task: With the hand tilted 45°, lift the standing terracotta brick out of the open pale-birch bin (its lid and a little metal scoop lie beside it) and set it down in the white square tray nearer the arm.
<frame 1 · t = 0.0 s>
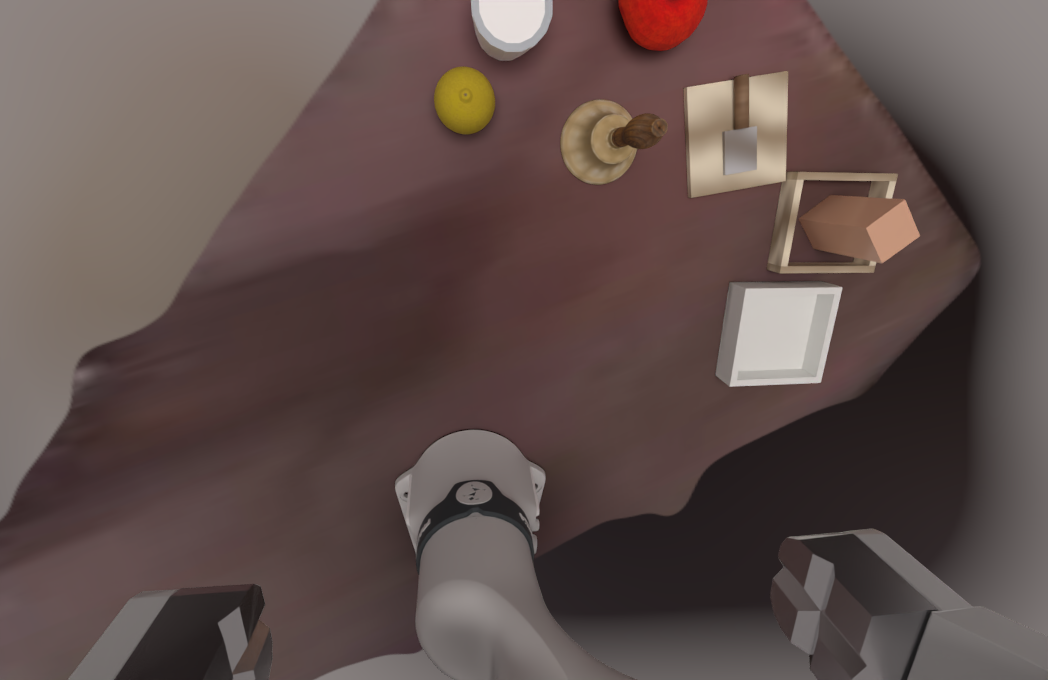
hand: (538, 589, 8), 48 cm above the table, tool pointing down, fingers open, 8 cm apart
lemon: (463, 107, 49), on the table
white round tub: (504, 28, 47), on the table
hand bell: (598, 143, 52), on the table
terracotta brick: (821, 222, 58), resting in birch bin
white square tray: (767, 329, 61), on the table
apple: (645, 13, 48), on the table
lid with scoop: (734, 136, 53), on the table
birch bin: (822, 222, 58), on the table
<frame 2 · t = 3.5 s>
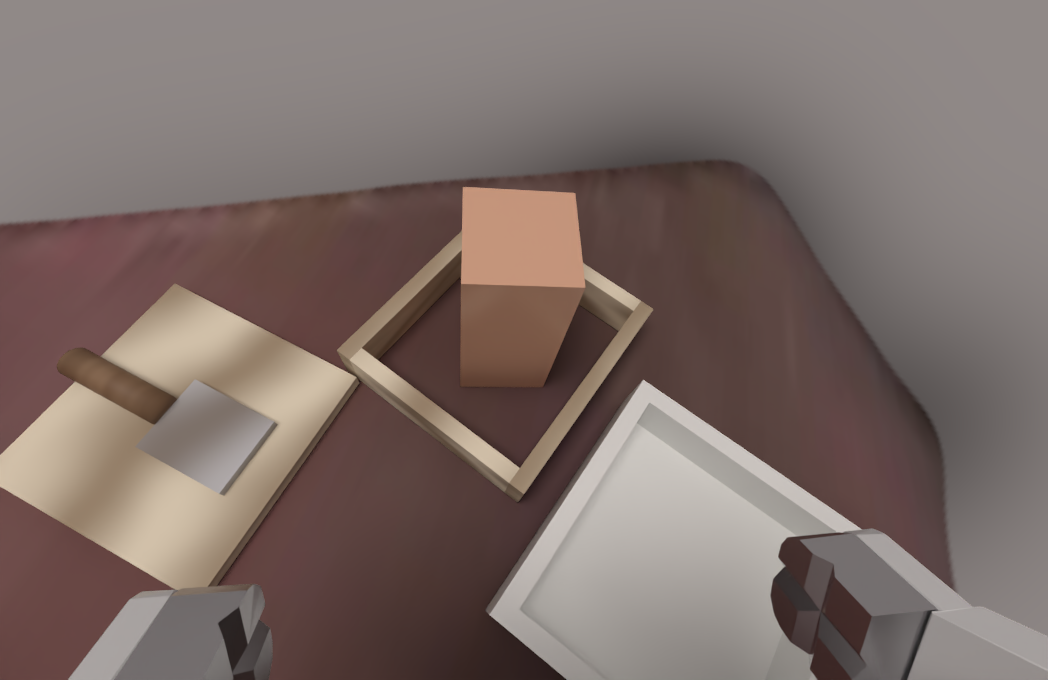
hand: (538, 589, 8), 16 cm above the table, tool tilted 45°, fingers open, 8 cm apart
terracotta brick: (501, 349, 27), resting in birch bin
white square tray: (665, 575, 23), on the table
lid with scoop: (192, 426, 23), on the table
birch bin: (501, 349, 27), on the table
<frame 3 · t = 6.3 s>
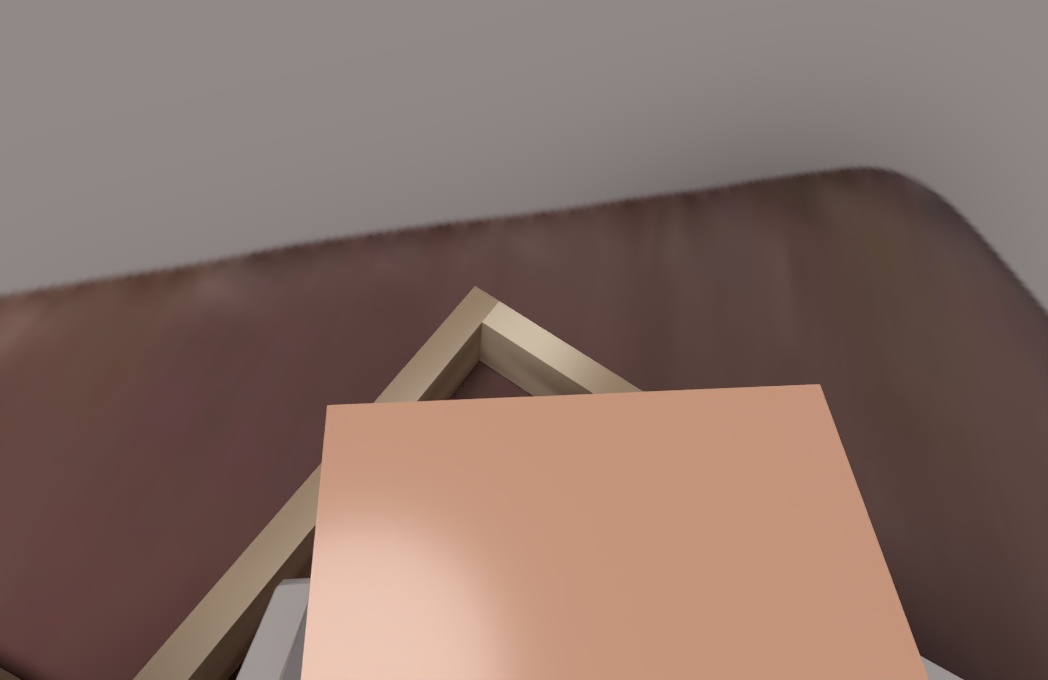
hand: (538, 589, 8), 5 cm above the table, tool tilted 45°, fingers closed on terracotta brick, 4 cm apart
terracotta brick: (511, 617, 12), resting in birch bin, touching gripper
birch bin: (511, 617, 12), on the table
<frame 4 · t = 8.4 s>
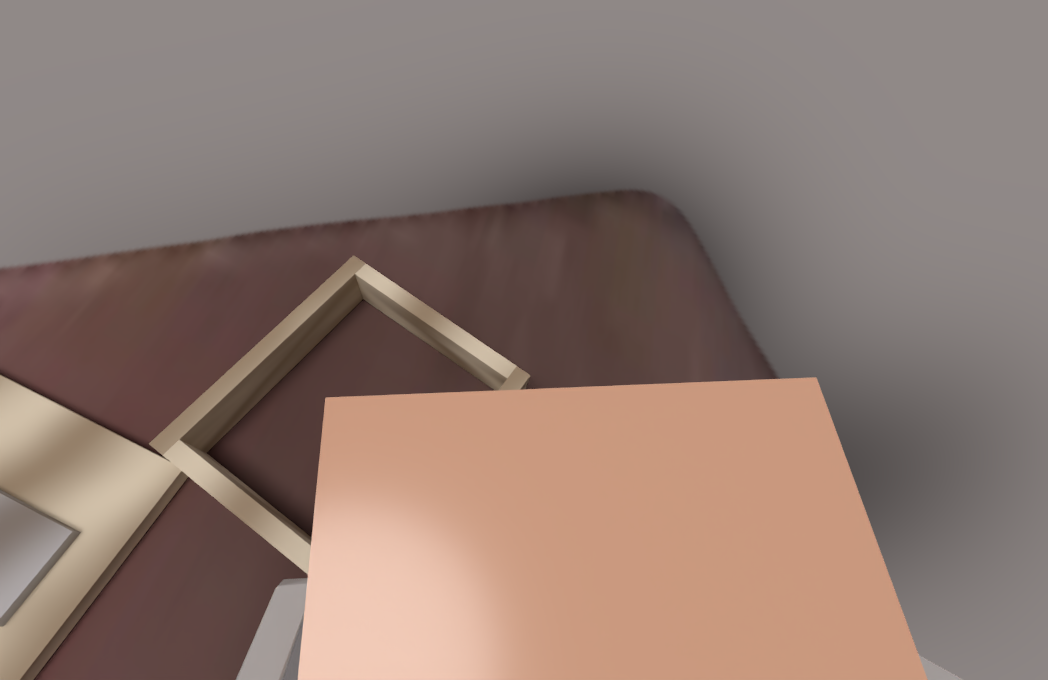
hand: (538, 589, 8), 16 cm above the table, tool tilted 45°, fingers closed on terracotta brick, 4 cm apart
terracotta brick: (511, 614, 12), point 10 cm above the table, touching gripper
birch bin: (363, 422, 24), on the table
when the fingers open (7 cm above the table, at t = 10.8 s): terracotta brick drops 1 cm, resting on white square tray.
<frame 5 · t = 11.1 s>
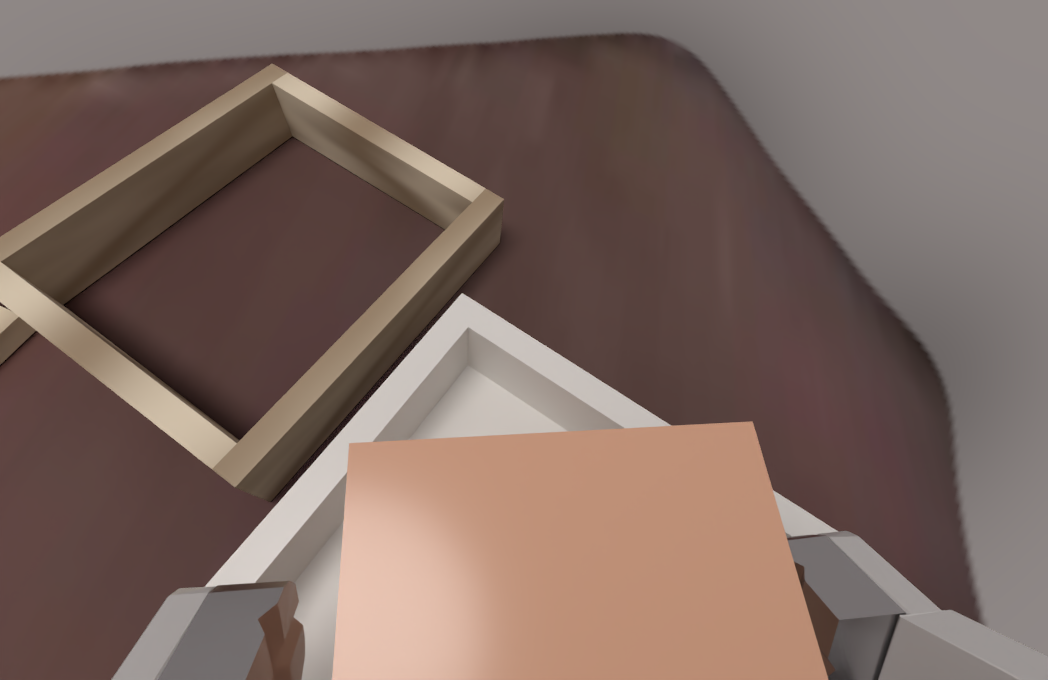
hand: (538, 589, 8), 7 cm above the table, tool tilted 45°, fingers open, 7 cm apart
terracotta brick: (507, 614, 13), point 1 cm above the table, touching white square tray
white square tray: (507, 611, 14), on the table
birch bin: (283, 273, 18), on the table
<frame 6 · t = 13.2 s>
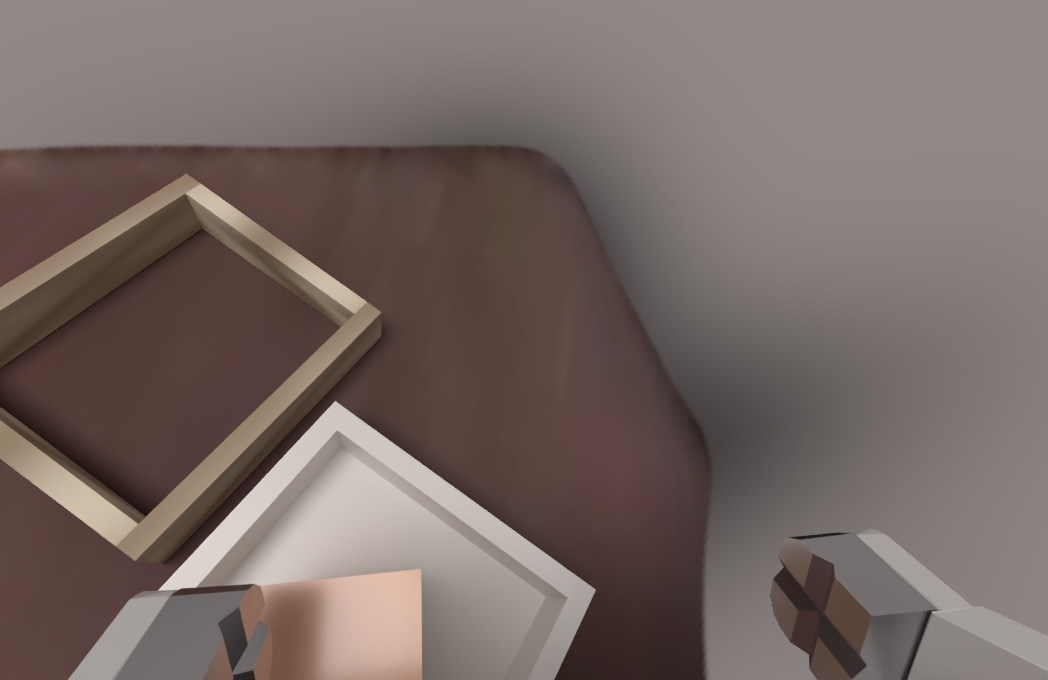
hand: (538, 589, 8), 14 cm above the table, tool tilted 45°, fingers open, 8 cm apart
terracotta brick: (353, 650, 18), point 1 cm above the table, touching white square tray
white square tray: (357, 646, 18), on the table
birch bin: (186, 360, 21), on the table
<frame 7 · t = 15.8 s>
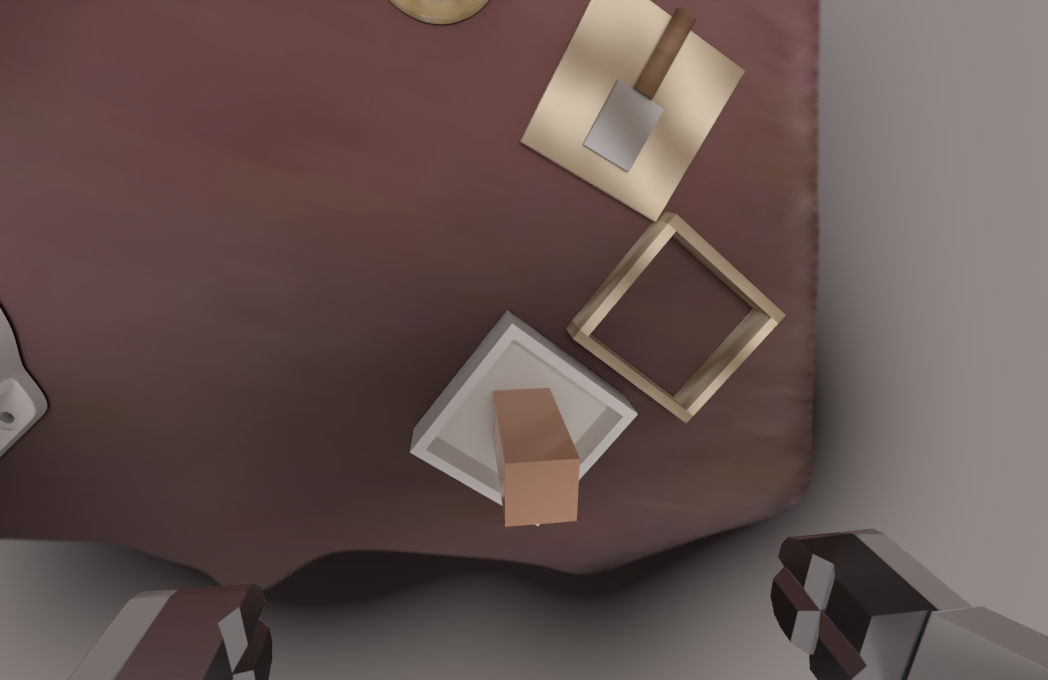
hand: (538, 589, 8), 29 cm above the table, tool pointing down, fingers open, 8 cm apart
terracotta brick: (521, 414, 39), point 1 cm above the table, touching white square tray
white square tray: (520, 411, 39), on the table
lid with scoop: (629, 107, 33), on the table
birch bin: (667, 317, 38), on the table
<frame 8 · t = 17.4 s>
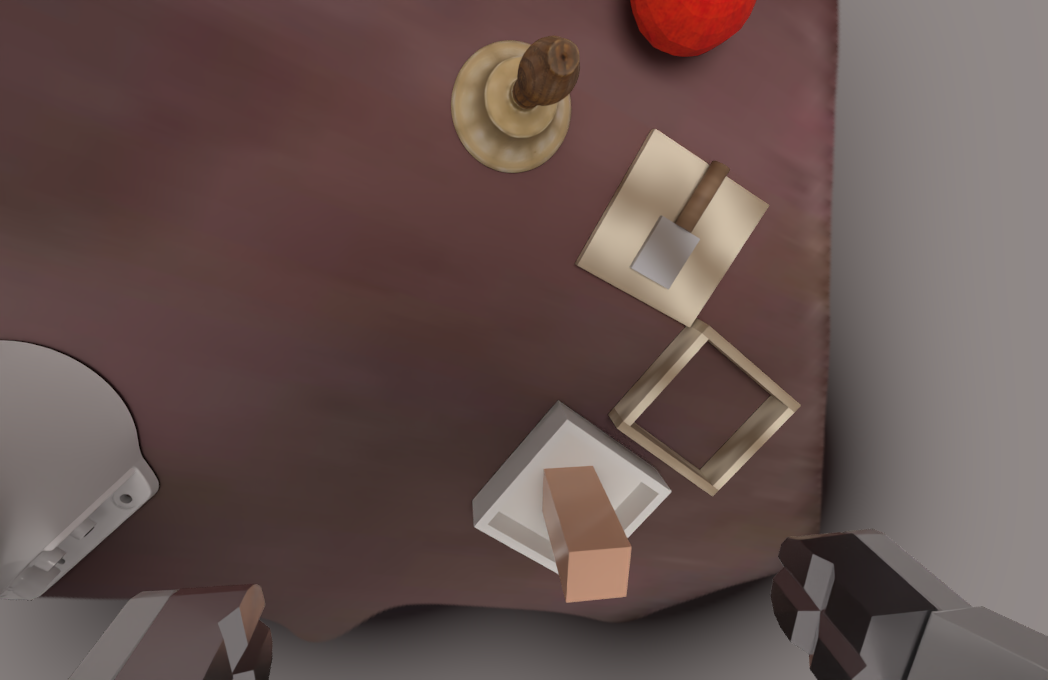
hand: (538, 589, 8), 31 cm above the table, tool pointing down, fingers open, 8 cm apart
hand bell: (511, 109, 34), on the table
terracotta brick: (567, 488, 44), point 1 cm above the table, touching white square tray
white square tray: (565, 484, 44), on the table
apple: (667, 2, 33), on the table
lid with scoop: (669, 233, 38), on the table
birch bin: (697, 403, 44), on the table
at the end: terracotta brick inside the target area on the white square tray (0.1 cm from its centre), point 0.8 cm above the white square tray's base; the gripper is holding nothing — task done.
